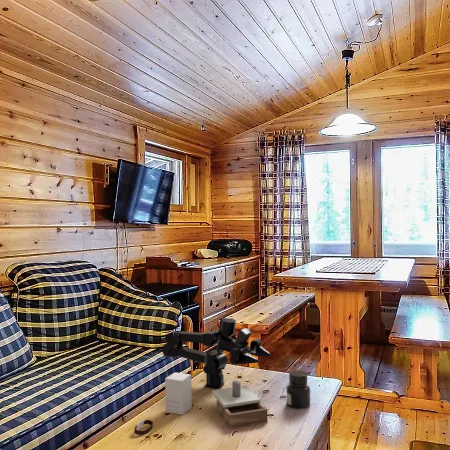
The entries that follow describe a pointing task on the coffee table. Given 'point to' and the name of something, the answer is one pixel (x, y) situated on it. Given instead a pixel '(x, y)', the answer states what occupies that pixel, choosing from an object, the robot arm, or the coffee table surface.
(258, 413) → the walnut box
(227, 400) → the box lid
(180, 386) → the supplement box
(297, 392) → the ink bottle
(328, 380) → the coffee table surface
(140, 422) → the watch
